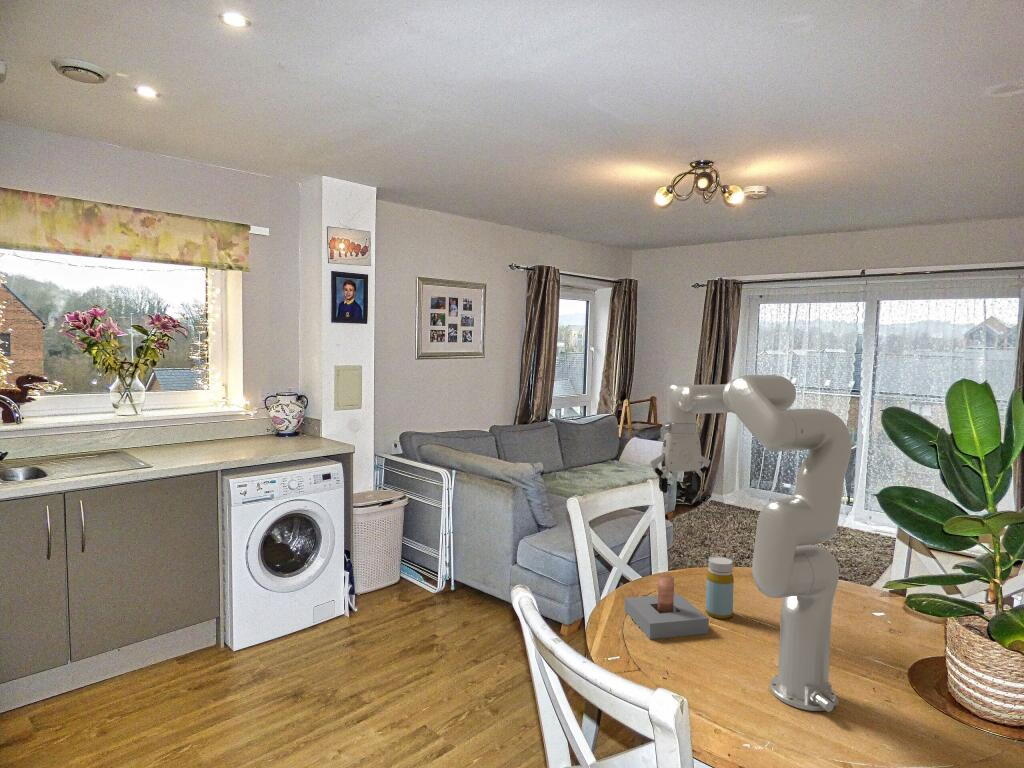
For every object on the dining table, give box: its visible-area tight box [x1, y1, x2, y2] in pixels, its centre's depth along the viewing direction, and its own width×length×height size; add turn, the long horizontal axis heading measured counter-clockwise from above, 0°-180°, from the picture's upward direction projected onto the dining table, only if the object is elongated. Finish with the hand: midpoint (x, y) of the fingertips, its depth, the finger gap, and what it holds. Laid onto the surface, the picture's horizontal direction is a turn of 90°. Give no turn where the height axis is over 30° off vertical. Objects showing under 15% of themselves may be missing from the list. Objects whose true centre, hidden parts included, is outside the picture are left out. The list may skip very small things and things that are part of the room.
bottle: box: [705, 556, 735, 620], centre depth 168 cm, size 7×7×15 cm
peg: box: [657, 574, 675, 614], centre depth 162 cm, size 4×4×12 cm
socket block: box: [624, 593, 710, 640], centre depth 162 cm, size 16×16×4 cm
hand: (679, 490), depth 169 cm, fingers open, 9 cm apart
